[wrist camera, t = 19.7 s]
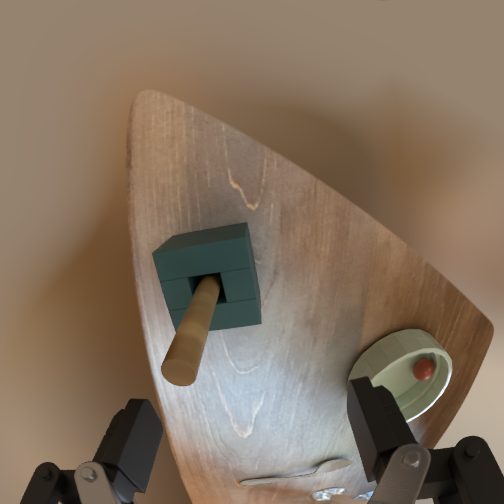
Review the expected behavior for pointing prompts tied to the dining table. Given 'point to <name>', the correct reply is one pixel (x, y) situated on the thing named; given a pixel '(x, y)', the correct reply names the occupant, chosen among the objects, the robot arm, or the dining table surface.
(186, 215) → the dining table surface
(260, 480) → the spoon
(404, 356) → the bowl
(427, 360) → the ball
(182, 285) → the holder
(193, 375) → the stick
